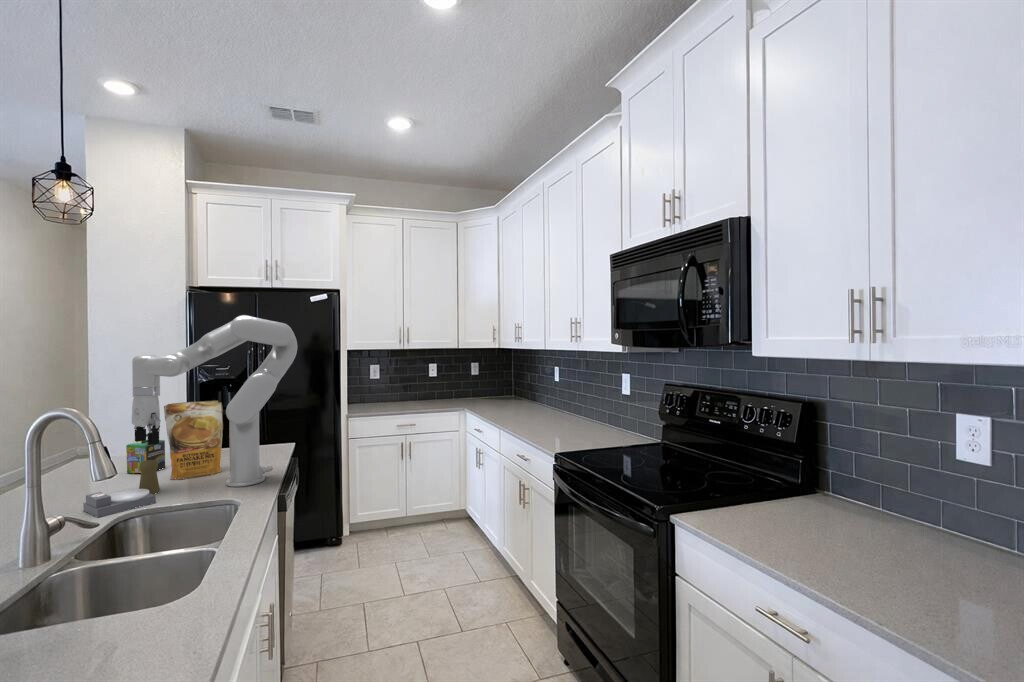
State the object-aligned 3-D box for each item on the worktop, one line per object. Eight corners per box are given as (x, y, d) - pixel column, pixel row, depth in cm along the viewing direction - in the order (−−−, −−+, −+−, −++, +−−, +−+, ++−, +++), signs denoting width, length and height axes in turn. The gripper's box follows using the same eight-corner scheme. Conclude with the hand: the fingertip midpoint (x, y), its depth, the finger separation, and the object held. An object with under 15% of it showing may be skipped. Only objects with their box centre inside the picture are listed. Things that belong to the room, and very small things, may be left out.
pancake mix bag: (165, 477, 189) (163, 403, 189) (223, 469, 200) (222, 398, 200) (165, 482, 184) (163, 405, 183) (225, 473, 195) (224, 400, 194)
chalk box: (146, 467, 204) (145, 431, 204) (166, 468, 203) (165, 431, 203) (125, 474, 195) (124, 435, 195) (146, 474, 194) (145, 436, 194)
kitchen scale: (140, 497, 167) (140, 481, 167) (155, 502, 161) (155, 486, 161) (83, 510, 154) (83, 493, 154) (97, 517, 148) (97, 499, 148)
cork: (164, 490, 174) (163, 458, 174) (150, 496, 168) (149, 463, 167) (148, 490, 174) (147, 458, 174) (133, 495, 168) (132, 462, 168)
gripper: (122, 391, 172) (122, 441, 172) (145, 394, 163) (145, 447, 163) (147, 389, 178) (148, 437, 178) (170, 392, 169) (171, 443, 169)
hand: (146, 442), depth 171 cm, fingers open, 9 cm apart
